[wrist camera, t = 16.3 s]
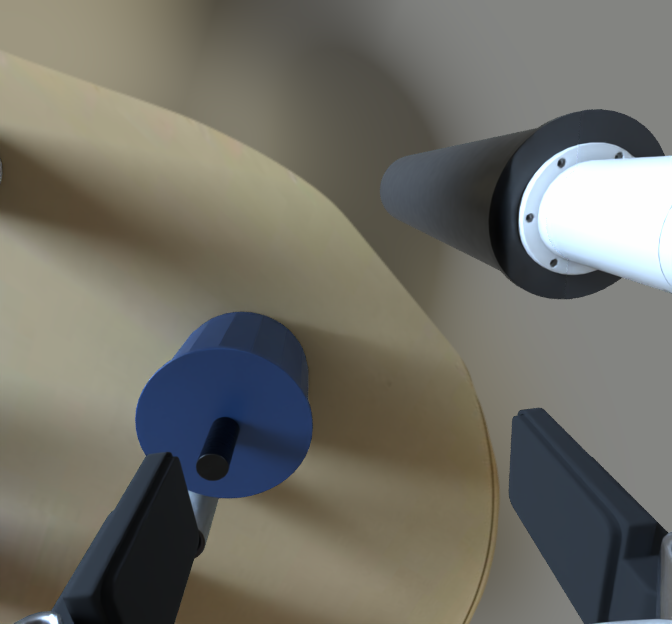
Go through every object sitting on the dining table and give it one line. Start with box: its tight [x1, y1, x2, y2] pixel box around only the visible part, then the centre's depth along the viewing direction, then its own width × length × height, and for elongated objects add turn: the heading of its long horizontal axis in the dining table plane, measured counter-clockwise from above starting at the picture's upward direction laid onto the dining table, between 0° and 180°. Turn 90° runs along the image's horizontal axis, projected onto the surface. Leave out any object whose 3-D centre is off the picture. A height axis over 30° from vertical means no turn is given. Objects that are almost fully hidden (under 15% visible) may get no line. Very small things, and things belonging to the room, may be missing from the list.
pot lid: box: [135, 346, 313, 498], centre depth 30 cm, size 14×14×6 cm
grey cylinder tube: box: [188, 491, 219, 559], centre depth 39 cm, size 4×4×10 cm
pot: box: [173, 312, 309, 398], centre depth 37 cm, size 13×13×10 cm
